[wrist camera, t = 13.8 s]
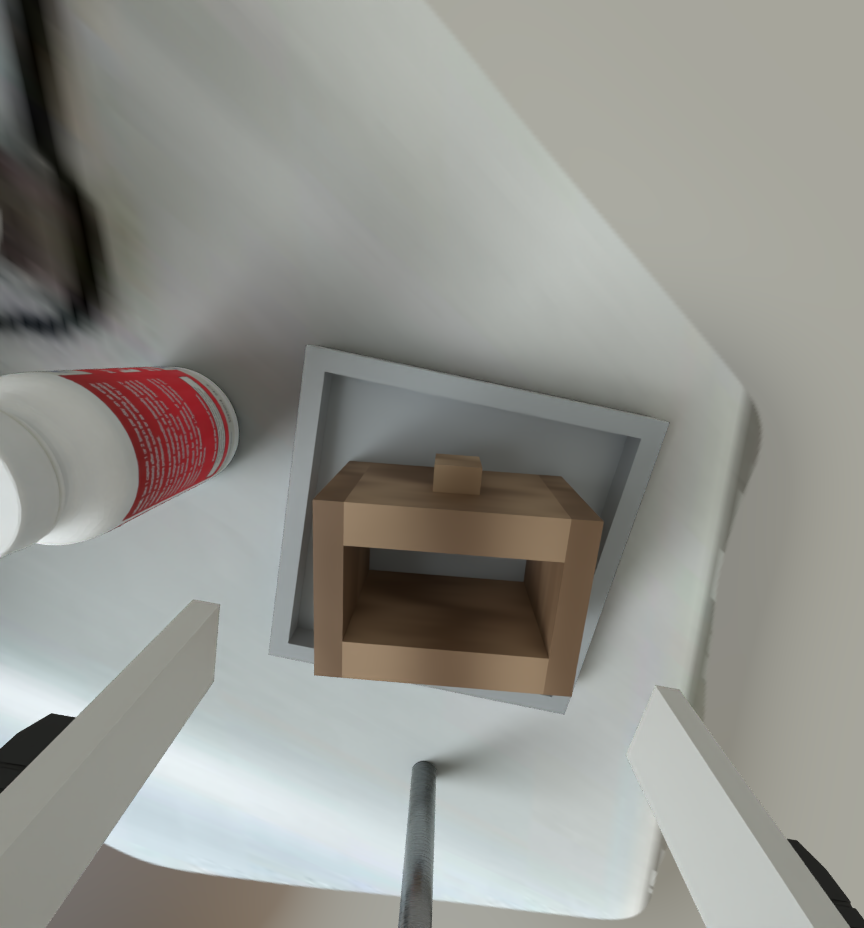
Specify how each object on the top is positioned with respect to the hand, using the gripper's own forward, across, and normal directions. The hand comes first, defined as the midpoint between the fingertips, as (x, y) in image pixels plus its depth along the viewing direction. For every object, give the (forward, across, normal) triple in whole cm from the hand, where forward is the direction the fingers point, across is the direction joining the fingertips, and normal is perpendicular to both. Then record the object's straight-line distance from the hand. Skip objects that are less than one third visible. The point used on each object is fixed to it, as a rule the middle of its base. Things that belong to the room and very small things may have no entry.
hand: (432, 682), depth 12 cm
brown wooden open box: (+10, +1, 0) cm, 10 cm away
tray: (+11, +1, 0) cm, 11 cm away
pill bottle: (+12, -14, +3) cm, 19 cm away
